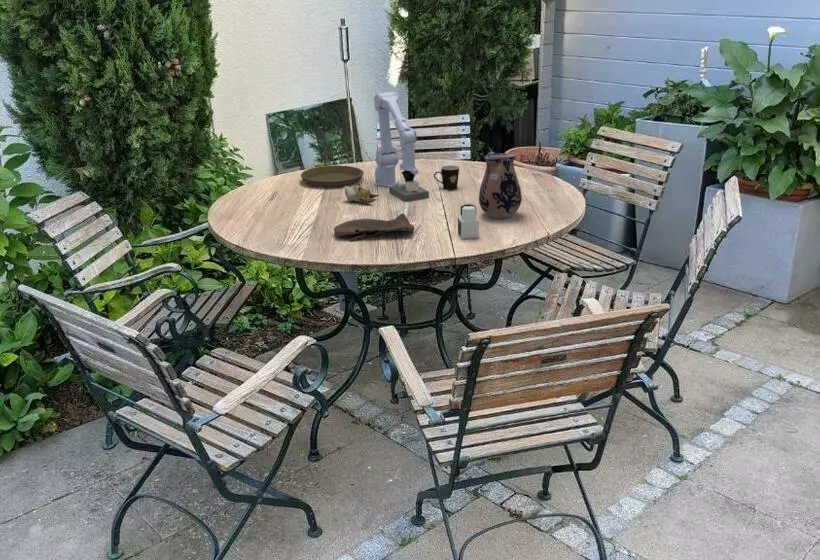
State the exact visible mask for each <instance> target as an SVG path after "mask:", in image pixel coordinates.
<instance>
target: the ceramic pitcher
mask: <svg viewBox="0 0 820 560" xmlns="http://www.w3.org/2000/svg"><path fill="white" fill-rule="evenodd" d="M515 158H516V154H511V153H505V152H504V153H502V152H501V153H500V152H498V153H497V152H494V151H491V152H488V153H487V154H486V155H484V156H483V159H484V160H485V161H486V167H485V172H484V173H483V174H484V175H483V178H482V180H481V184H480V187H479V193H478V203H479V205H480V208H481V210H482V211H483V212H484V213H485V214H486V216H488V217H490V218H493V219H507V218H508V219H509V218H511V217H512V216H514V214H516V213H517V212H518V210H519V208H520V207H521V204H522V200H523V199H522V197H523V195H522V190H521V189H522V188H521V186H520V183H519V180H518V176H517V173H516V169H515V164H514V162H515V161H514V160H515Z"/></svg>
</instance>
